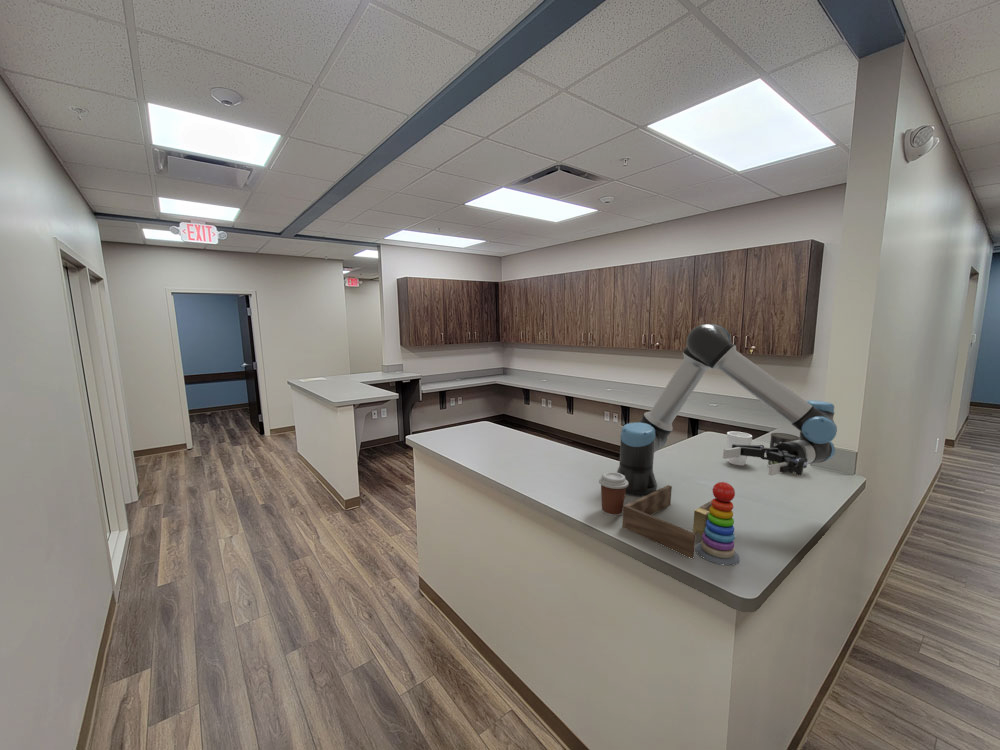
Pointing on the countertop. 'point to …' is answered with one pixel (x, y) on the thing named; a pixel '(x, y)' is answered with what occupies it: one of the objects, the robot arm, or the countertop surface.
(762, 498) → the countertop surface
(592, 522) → the countertop surface
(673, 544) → the brown open angular frame
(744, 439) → the foam cup
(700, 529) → the corner post
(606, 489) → the coffee cup
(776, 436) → the coffee can
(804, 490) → the countertop surface
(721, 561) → the pad
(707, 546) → the stacking toy
